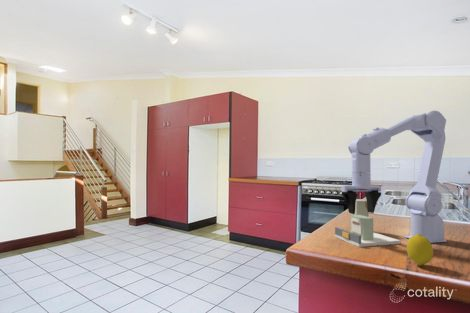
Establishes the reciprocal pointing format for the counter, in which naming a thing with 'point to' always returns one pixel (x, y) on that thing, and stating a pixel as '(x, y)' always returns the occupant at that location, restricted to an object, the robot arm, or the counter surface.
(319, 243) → the counter surface
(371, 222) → the carton
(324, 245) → the counter surface
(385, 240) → the shelf board
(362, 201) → the skincare box
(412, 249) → the lemon
